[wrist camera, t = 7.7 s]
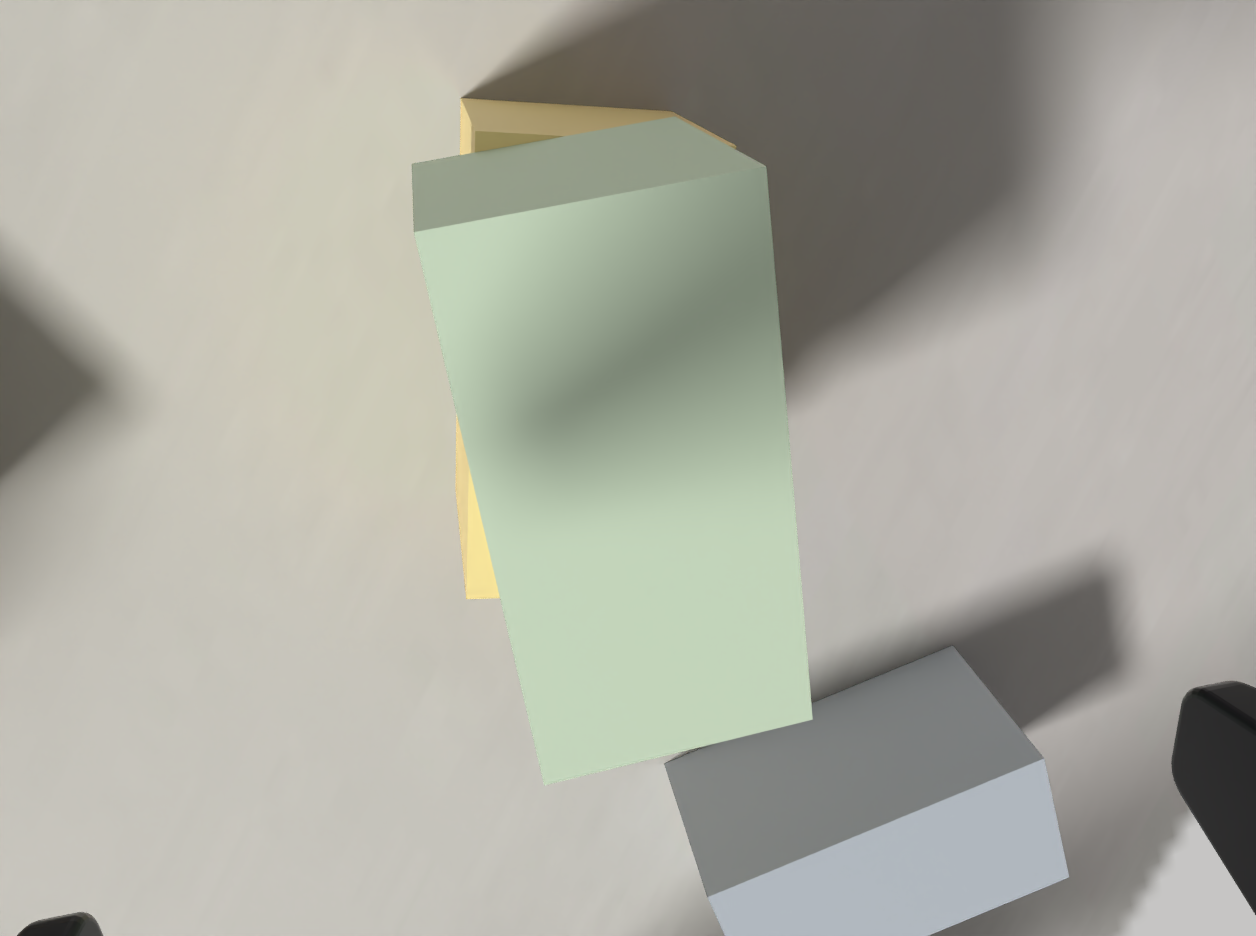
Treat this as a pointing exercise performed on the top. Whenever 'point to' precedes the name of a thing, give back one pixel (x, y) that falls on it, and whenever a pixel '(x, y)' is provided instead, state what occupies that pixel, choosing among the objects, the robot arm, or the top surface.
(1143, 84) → the top surface
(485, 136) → the ochre brick
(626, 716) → the sage brick
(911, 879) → the slate brick
